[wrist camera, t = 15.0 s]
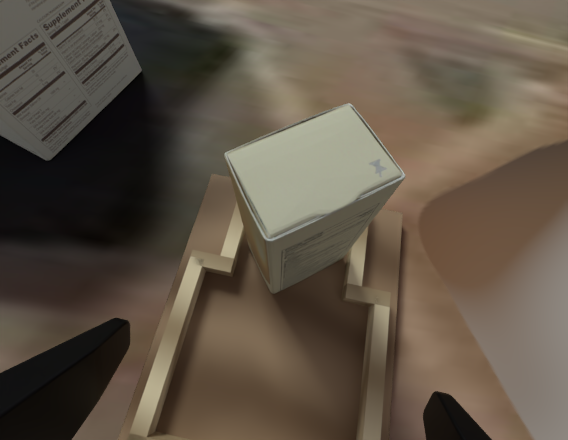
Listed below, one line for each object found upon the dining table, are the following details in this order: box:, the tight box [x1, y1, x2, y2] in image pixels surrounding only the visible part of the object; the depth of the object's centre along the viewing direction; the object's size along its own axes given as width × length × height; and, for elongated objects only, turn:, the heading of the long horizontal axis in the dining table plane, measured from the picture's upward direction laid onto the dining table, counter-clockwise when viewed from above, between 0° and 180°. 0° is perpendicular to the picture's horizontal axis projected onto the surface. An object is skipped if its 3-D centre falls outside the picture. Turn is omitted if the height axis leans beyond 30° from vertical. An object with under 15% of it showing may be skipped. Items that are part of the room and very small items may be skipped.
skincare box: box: [224, 103, 405, 294], centre depth 18 cm, size 6×4×12 cm
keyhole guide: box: [118, 174, 403, 440], centre depth 21 cm, size 19×16×3 cm
